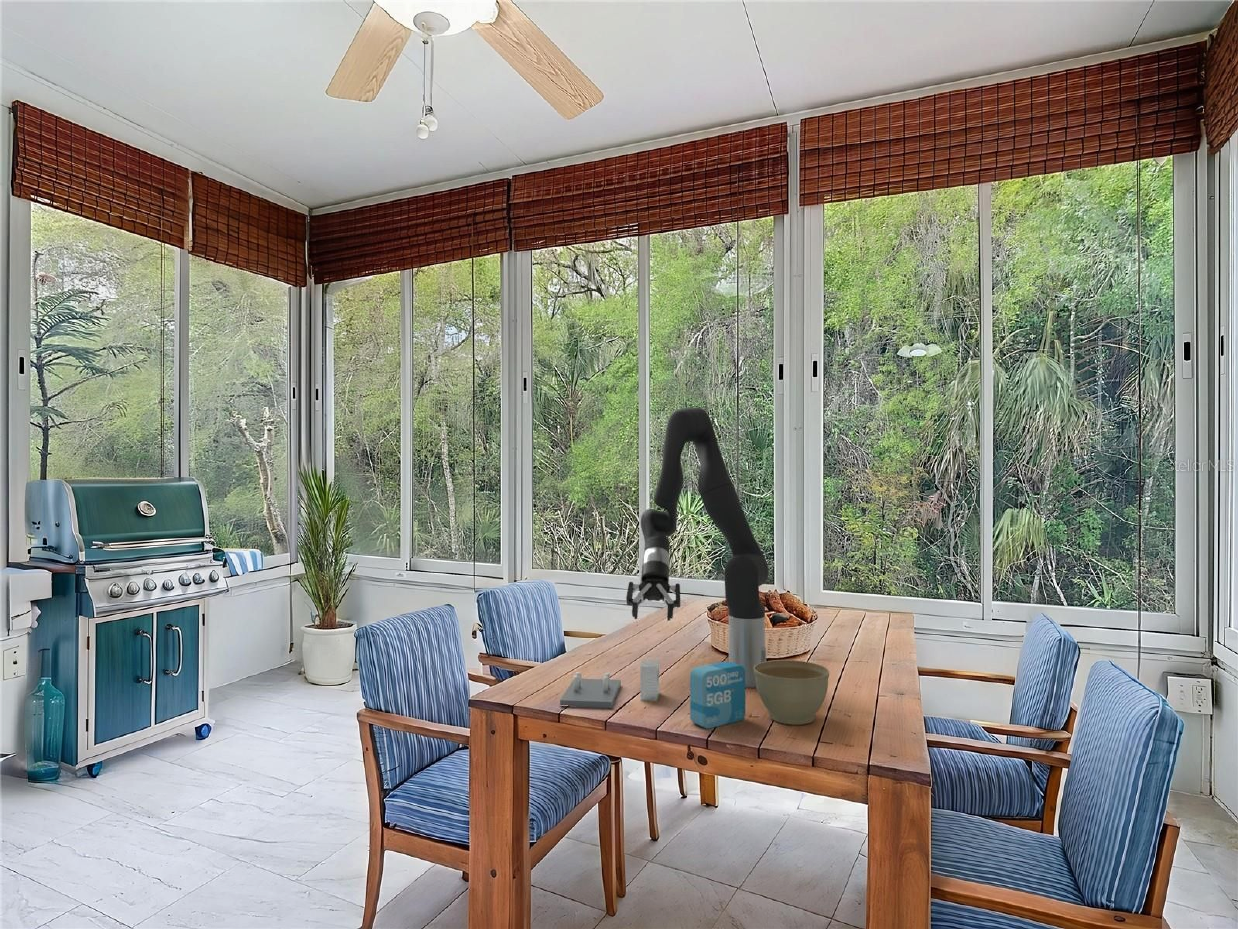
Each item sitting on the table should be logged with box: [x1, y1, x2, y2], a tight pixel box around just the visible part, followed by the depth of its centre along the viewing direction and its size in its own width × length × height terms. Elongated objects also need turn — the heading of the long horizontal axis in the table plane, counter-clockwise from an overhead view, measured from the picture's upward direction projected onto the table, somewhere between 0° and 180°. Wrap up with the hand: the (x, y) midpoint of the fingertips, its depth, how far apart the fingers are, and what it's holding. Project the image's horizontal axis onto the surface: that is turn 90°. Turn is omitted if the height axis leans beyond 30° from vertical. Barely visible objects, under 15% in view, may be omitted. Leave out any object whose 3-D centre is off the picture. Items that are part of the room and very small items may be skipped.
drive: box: [639, 659, 660, 702], centre depth 170 cm, size 4×6×8 cm
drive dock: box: [559, 671, 622, 709], centre depth 171 cm, size 12×18×5 cm, turn 173°
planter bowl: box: [754, 659, 830, 726], centre depth 154 cm, size 16×16×11 cm
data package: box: [689, 660, 746, 730], centre depth 152 cm, size 12×4×12 cm, turn 123°
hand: (652, 618), depth 182 cm, fingers open, 8 cm apart
